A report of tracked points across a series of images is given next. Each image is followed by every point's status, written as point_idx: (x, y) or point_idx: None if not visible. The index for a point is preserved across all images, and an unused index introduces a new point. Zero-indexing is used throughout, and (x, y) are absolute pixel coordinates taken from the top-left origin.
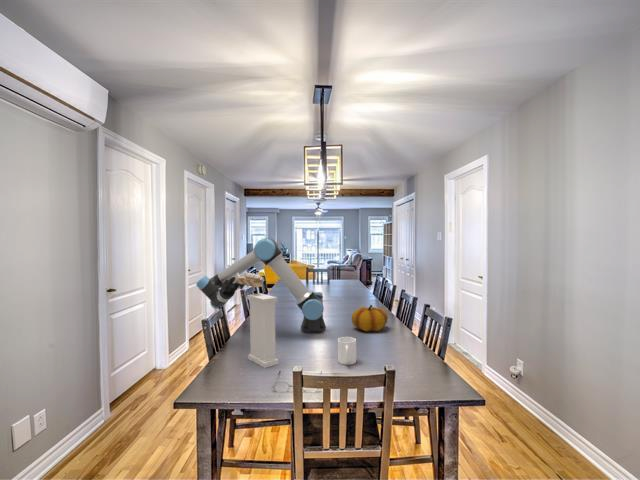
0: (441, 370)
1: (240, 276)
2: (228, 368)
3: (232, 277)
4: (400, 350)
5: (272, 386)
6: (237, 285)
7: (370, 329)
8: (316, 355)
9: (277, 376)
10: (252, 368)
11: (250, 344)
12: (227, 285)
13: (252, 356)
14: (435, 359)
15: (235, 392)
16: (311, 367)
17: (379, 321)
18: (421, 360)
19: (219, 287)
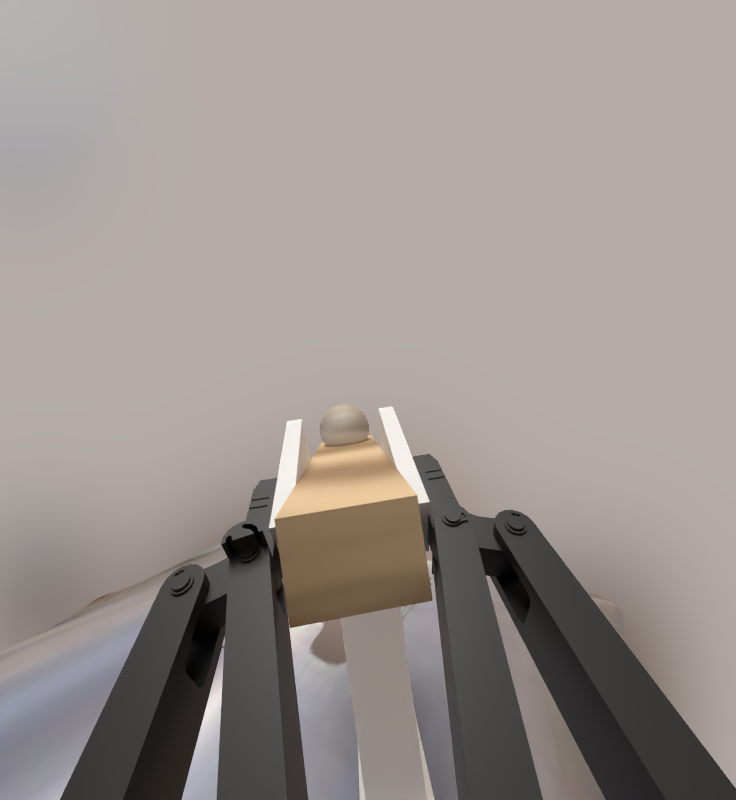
0: (187, 563)
1: (335, 473)
2: (536, 748)
3: (436, 460)
4: (82, 638)
5: (429, 577)
6: (303, 780)
7: None
8: (217, 708)
9: (404, 608)
10: (445, 702)
11: (420, 752)
12: (520, 611)
13: (425, 767)
14: (132, 587)
15: (500, 599)
16: (305, 638)
17: None
18: (147, 591)
19: None
